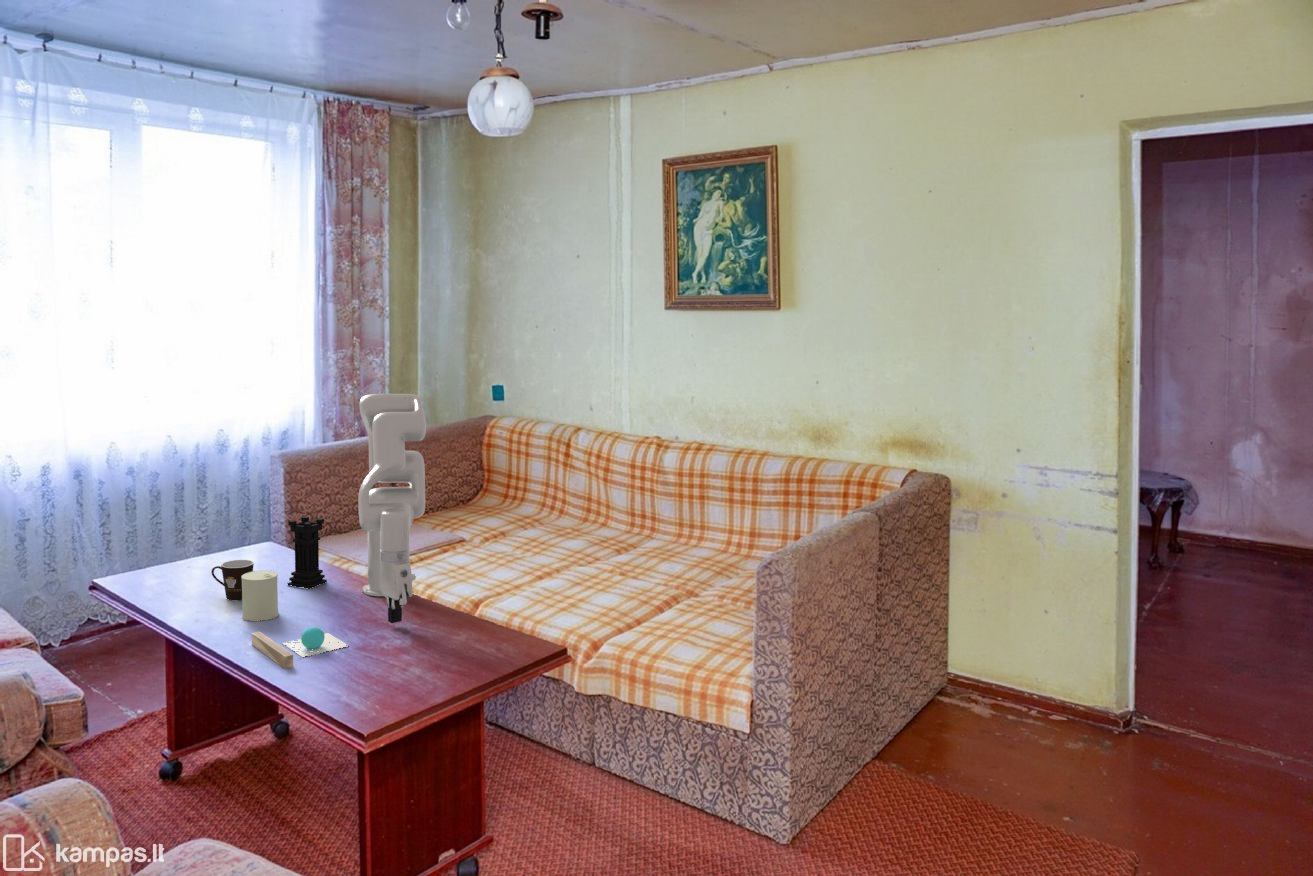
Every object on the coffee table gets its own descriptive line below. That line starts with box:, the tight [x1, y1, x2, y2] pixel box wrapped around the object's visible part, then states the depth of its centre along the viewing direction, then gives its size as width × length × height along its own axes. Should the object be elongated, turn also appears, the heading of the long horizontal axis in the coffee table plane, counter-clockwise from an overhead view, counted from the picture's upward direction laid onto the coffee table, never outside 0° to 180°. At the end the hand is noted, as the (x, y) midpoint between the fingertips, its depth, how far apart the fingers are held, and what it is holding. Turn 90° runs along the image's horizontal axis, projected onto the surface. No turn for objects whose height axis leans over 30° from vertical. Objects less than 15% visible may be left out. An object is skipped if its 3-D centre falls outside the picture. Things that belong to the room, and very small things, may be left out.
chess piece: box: [286, 516, 328, 590], centre depth 282 cm, size 8×8×20 cm
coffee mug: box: [211, 559, 255, 601], centre depth 269 cm, size 12×9×10 cm
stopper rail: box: [251, 631, 294, 670], centre depth 227 cm, size 2×20×3 cm, turn 44°
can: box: [241, 570, 279, 622], centre depth 253 cm, size 9×9×12 cm
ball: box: [300, 626, 325, 649], centre depth 232 cm, size 6×6×6 cm
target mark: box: [281, 632, 349, 658], centre depth 235 cm, size 12×12×1 cm
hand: (394, 621), depth 250 cm, fingers closed
